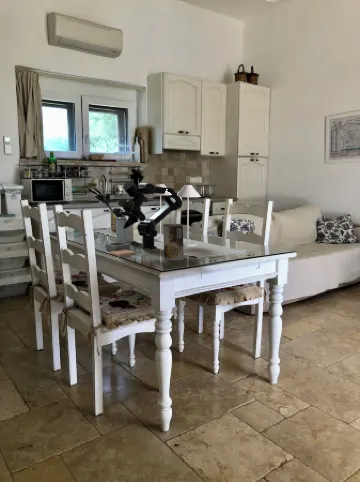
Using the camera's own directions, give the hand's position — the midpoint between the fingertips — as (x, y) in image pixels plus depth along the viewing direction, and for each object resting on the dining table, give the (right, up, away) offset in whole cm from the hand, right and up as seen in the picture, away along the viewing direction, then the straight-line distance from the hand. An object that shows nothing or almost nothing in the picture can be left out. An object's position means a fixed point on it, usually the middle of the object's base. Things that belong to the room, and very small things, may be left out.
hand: (120, 227), depth 199 cm
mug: (-2, -7, +35) cm, 35 cm away
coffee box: (+26, -15, -9) cm, 31 cm away
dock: (-1, -12, +8) cm, 14 cm away
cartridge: (0, -7, +2) cm, 7 cm away
